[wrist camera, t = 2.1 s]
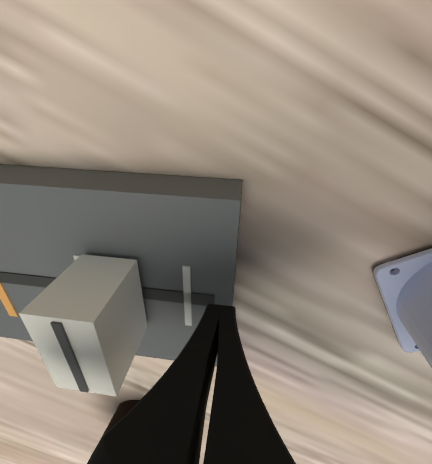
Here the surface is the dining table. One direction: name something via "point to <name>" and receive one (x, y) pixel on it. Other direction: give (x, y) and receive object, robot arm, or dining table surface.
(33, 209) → the console
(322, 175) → the dining table surface
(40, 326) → the fader
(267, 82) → the dining table surface
